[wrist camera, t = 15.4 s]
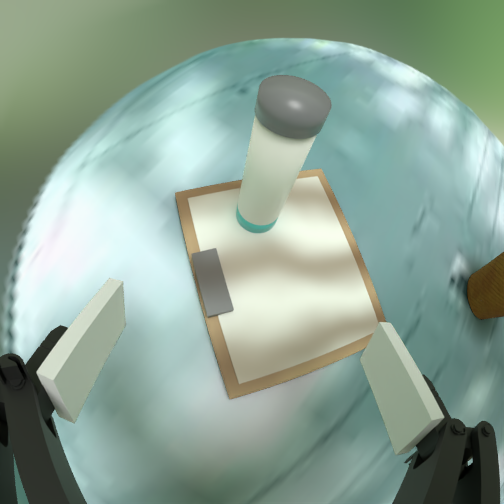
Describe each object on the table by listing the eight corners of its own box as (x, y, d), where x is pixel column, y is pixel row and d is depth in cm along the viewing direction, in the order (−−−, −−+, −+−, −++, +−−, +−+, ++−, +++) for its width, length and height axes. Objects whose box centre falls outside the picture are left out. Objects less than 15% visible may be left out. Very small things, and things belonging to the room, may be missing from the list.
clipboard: (385, 336, 23) (396, 334, 21) (229, 397, 19) (230, 401, 18) (318, 173, 29) (324, 162, 27) (175, 197, 25) (174, 186, 23)
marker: (283, 229, 24) (344, 117, 12) (241, 238, 23) (274, 120, 11) (269, 193, 25) (312, 75, 13) (229, 200, 25) (249, 75, 13)
